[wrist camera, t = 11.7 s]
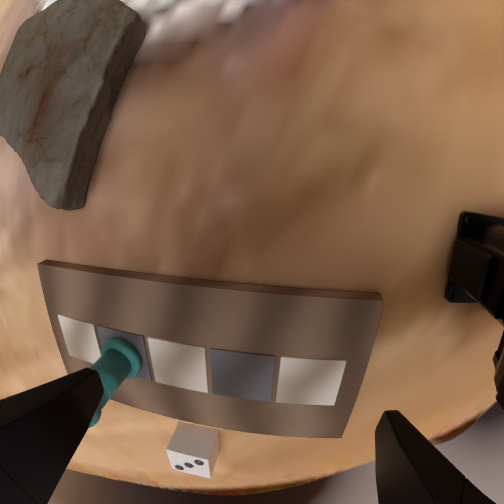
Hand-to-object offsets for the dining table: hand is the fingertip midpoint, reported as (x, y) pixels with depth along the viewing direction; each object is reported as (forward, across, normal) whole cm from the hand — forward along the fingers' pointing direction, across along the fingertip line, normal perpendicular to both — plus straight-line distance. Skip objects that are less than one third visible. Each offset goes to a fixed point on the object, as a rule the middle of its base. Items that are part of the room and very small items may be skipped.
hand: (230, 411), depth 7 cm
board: (+12, +6, +8) cm, 16 cm away
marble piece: (+13, +18, -14) cm, 26 cm away
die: (+12, +6, +19) cm, 23 cm away
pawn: (+11, +11, +8) cm, 18 cm away
